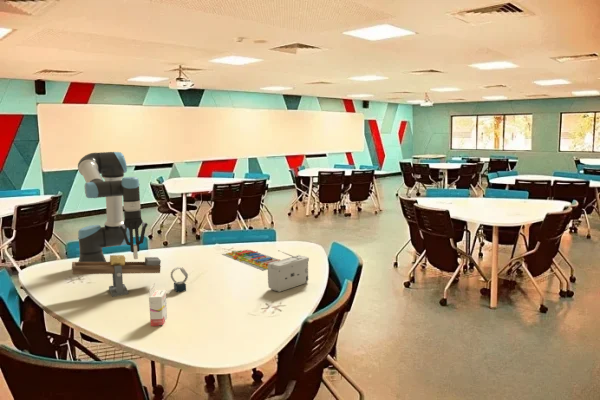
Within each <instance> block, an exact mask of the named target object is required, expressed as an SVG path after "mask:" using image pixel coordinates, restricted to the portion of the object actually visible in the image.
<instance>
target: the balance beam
mask: <svg viewBox="0 0 600 400" xmlns="http://www.w3.org/2000/svg"><path fill="white" fill-rule="evenodd" d="M161 261H162V260H161V259H160V258H159V257H158V256H145V257H144V261H125V266H122V275H123V274H127V275H128V274H161V267H162V266H161ZM109 264H110V261H106V262H78V261H72V262H71V273H72V275H106V274H107V275H109V274H111V275H112V274H115V269H114V266H109Z"/></svg>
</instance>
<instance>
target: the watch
mask: <svg viewBox="0 0 600 400" xmlns="http://www.w3.org/2000/svg"><path fill="white" fill-rule="evenodd" d="M177 270H179V271H180V272H181V273H182V274H183V276H184V279H183V280H181V281H176V280H175V278H174V276H173V274H174V273H175V272H176V271H177ZM188 278H189V274H188V272H187V270H186V269H185V268H184V267H181V266H176V267H174V268H173V269H172V270H171V272H170V279H171V280H172V281H173V289H174V291H175V292H176V293H180V292H186V291H187V284H186V281H187V280H188Z"/></svg>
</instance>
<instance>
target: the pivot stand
mask: <svg viewBox="0 0 600 400" xmlns="http://www.w3.org/2000/svg"><path fill="white" fill-rule="evenodd" d="M114 269H115V274H111V275H112V285H110V286H108V291H109V293H110V295H111V297H112V298H113V297H118V296H125V295H128V294H129V290H128V288H127V286H126V285H125V283H124V282H123V274H122V266H121V265H119V266H114Z"/></svg>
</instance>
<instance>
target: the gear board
mask: <svg viewBox="0 0 600 400" xmlns="http://www.w3.org/2000/svg"><path fill="white" fill-rule="evenodd" d="M222 255H223V256H225V257H227V258H230V259H232V260H235V261H237V262H240V263H243V264H245V265H247V266H250V267H253V268H255V269H257V270H261V271H263V272H264V271H268V264H269V263H271V262H275V261H279V260H281V259H278V258H275V257H273V256H269V255H266V254H264V253H260V252H258V250H257V251H255V250H251V249H244V250H232V251H231V252H226V253H223V254H222Z"/></svg>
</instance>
